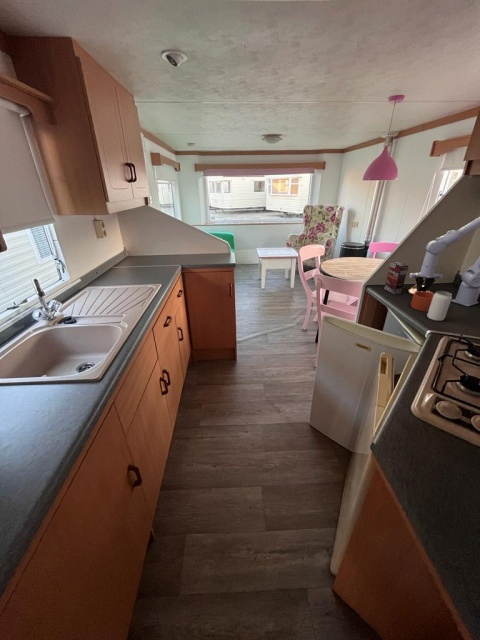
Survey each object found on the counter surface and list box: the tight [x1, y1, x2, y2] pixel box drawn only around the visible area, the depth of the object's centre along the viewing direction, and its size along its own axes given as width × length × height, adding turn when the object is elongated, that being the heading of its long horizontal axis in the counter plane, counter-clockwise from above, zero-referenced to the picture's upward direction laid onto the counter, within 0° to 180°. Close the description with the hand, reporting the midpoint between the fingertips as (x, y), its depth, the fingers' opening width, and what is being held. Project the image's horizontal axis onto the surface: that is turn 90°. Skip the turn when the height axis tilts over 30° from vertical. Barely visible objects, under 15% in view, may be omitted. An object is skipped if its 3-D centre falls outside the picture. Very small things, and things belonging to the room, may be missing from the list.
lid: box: [408, 284, 433, 295], centre depth 138 cm, size 11×11×5 cm
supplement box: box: [383, 261, 409, 295], centre depth 147 cm, size 9×5×16 cm, turn 10°
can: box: [426, 290, 453, 322], centre depth 116 cm, size 6×6×12 cm
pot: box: [410, 291, 435, 313], centre depth 129 cm, size 10×10×6 cm
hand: (421, 291), depth 139 cm, fingers closed on lid, 2 cm apart
